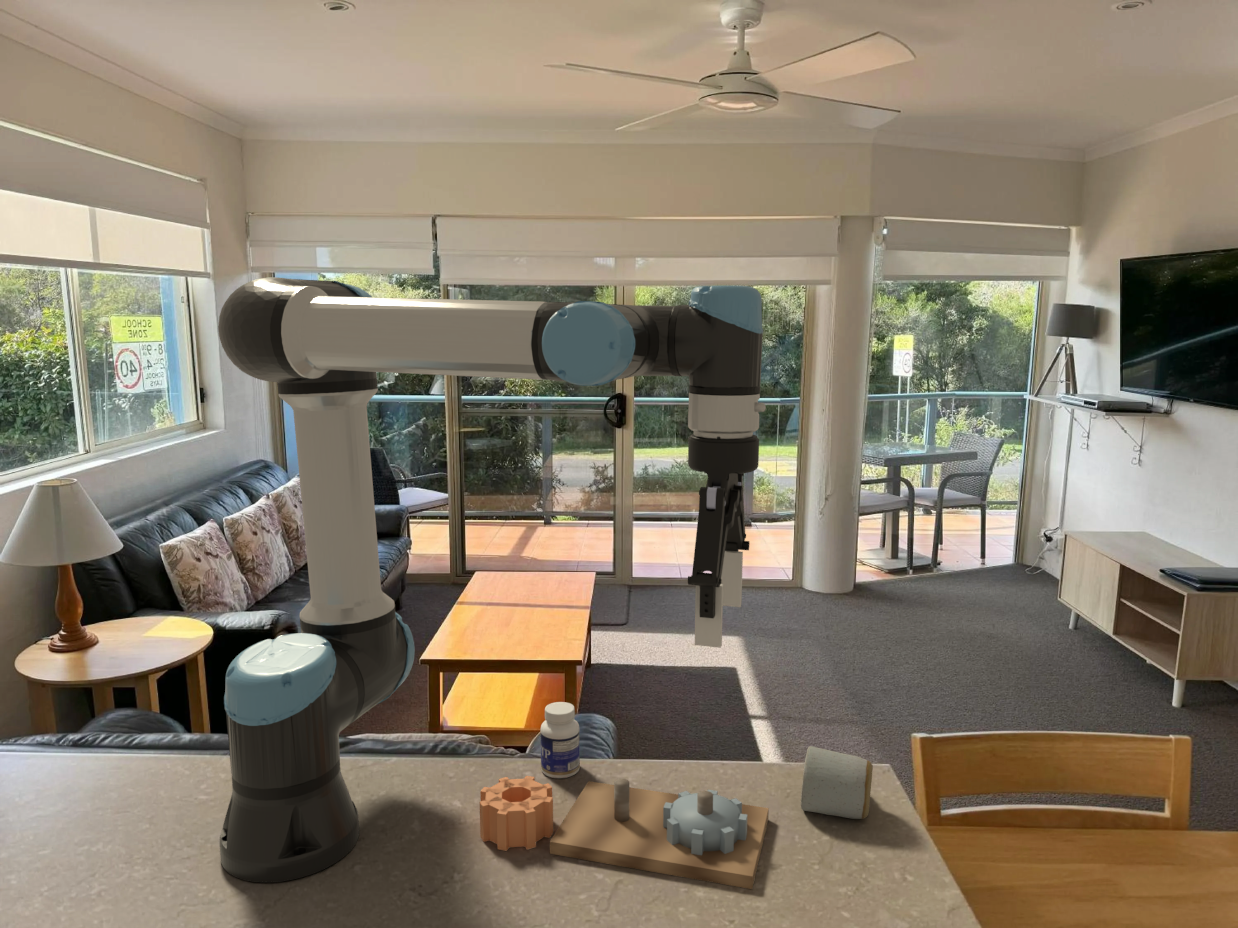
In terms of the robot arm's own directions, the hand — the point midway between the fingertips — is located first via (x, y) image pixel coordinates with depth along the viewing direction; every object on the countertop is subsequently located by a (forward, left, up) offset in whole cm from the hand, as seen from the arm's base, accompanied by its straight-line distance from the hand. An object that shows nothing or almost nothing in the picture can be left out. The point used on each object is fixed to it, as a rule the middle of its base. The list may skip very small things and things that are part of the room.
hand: (719, 624), depth 98 cm
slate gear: (-1, 0, -25) cm, 25 cm away
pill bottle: (-23, +12, -27) cm, 38 cm away
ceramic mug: (+13, +13, -27) cm, 33 cm away
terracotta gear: (-23, -3, -27) cm, 36 cm away
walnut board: (-6, 0, -27) cm, 27 cm away
